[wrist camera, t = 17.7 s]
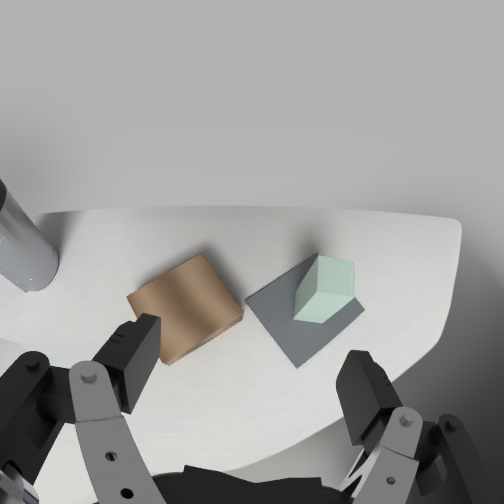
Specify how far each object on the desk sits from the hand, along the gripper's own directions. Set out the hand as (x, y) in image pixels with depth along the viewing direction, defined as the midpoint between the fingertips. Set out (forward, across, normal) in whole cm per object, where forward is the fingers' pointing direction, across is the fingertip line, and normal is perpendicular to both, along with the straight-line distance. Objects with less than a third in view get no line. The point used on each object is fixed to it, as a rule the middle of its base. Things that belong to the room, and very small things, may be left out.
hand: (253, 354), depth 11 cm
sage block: (+26, -9, +10) cm, 29 cm away
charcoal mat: (+26, -9, +10) cm, 30 cm away
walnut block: (+24, +8, +13) cm, 28 cm away
